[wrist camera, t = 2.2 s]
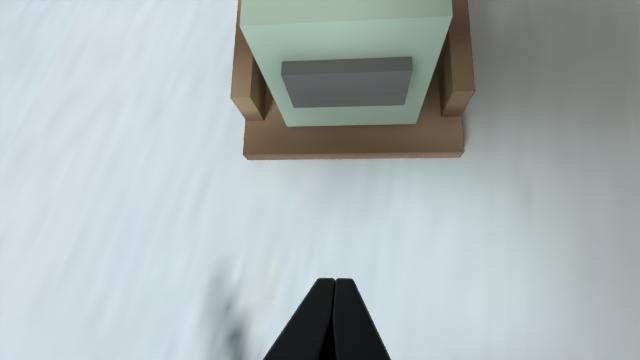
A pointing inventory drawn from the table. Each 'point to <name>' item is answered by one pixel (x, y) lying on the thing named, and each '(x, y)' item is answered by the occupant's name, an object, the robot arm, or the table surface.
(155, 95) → the table surface
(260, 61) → the pale green block
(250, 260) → the table surface
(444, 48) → the brown open tray
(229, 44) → the table surface
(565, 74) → the table surface
